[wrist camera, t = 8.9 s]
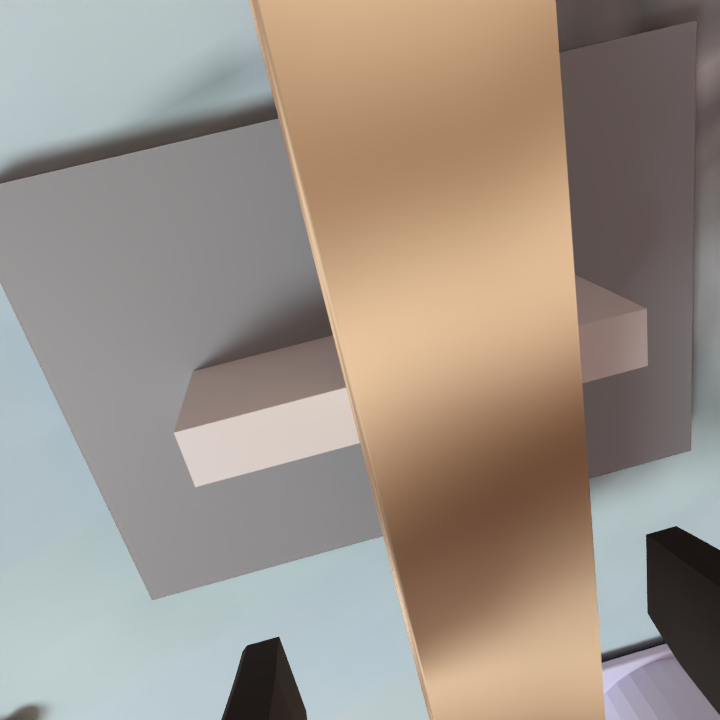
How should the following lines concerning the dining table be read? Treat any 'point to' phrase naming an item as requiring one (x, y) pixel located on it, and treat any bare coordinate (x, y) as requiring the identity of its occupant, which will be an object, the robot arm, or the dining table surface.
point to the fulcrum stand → (323, 319)
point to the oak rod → (454, 327)
